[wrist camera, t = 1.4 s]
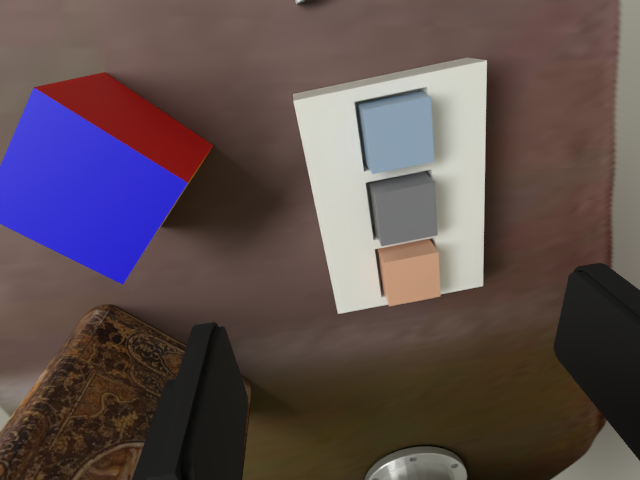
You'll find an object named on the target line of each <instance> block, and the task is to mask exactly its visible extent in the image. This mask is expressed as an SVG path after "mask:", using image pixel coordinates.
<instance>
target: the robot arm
mask: <svg viewBox="0 0 640 480" xmlns="http://www.w3.org/2000/svg"><path fill="white" fill-rule="evenodd" d="M554 351H555V355H556V357H557V358H558V360H559V361H560V362H561V364H562V365H563V366H564V367H565V369H566V370H567V371H568V372H569V374H570V375H571V376H572V377H573V379H574V380H575V381H576V382H577V384H578V385H579V386H580V387H581V388H582V390H583V391H584V392H585V393H586V395H587V396H588V397H589V398H590V400H591V401H592V402H593V403H594V405H595V406H596V407H597V408H598V410H599V411H600V412H601V413H602V415H603V416H604V417H605V418H606V419H607V421H608V422H609V423H610V424H611V426H612V427H613V428H614V429H615V431H616V432H617V433H618V434H619V436H620V437H621V438H622V439H623V440H624V442H625V443H626V444H627V445H628V447H629V448H630V449H631V450H632V452H633V453H634V454H635V455H636V457H637V458H638V459H639V460H640V290H639V289H637V288H636V287H635V286H633V285H632V284H631V283H629V282H628V281H627V280H625V279H624V278H623V277H621V276H620V275H619V274H617V273H616V272H615V271H613V270H612V269H611V268H609V267H608V266H607V265H605V264H602V263H597V264H591V265H584V266H579V267H577V268H576V269H575V270H574V273H571V274H570V275H569V278H568V283H567V287H566V292H565V297H564V301H563V306H562V311H561V315H560V320H559V324H558V329H557V334H556V338H555V343H554ZM247 412H248V396H247V392H246V389H245V386H244V383H243V380H242V377H241V374H240V371H239V368H238V365H237V362H236V359H235V356H234V353H233V350H232V347H231V344H230V341H229V338H228V335H227V332H226V330H225V328H224V327H218V325H217V323H215V322H213V323H206V324H200V325H194V326H193V328H192V330H191V333H190V337H189V340H188V343H187V346H186V349H185V352H184V356H183V359H182V362H181V365H180V368H179V371H178V374H177V378H176V379H173V380H168V381H167V382H166V384H165V386H164V388H163V390H162V393H161V396H160V399H159V402H158V405H157V408H156V411H155V414H154V417H153V419H152V422H151V425H150V428H149V431H148V434H147V437H146V440H145V443H144V446H143V449H142V451H141V454H140V457H139V460H138V463H137V466H136V469H135V472H134V475H133V478H132V480H240V479H241V469H242V460H243V450H244V441H245V431H246V422H247ZM365 480H467V472H466V469H465V467H464V464H463V462H462V460H461V459H460V458H459V457H458V456H457V455H455V454H454V453H453V452H450V451H448V450H446V449H442V448H438V447H430V446H421V447H412V448H407V449H403V450H399V451H396V452H394V453H392V454H389V455H387V456H386V457H384V458H382V459H381V460H379V461H378V462H377V463H375V464H374V465H373V467H372V468H371V469H370V470H369V471H368V473H367V475H366V477H365Z"/></svg>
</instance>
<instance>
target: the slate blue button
mask: <svg viewBox="0 0 640 480" xmlns="http://www.w3.org/2000/svg"><path fill="white" fill-rule="evenodd" d="M358 106H359V114H360V121H361V129H362V136H363V144H364V151H365V158H366V164H367V166H368V168H369V170H370V171H371V173H372V174H376V173H381V172H386V171H391V170H396V169H401V168H405V167H410V166H415V165H420V164H425V163H430V162H434V149H433V128H432V107H431V96H429V95H427V94H424V93H422V92H415V93H410V94H406V95H401V96H396V97H391V98H386V99H382V100H377V101H372V102H367V103H362V104H358Z"/></svg>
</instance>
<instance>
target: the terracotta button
mask: <svg viewBox="0 0 640 480" xmlns="http://www.w3.org/2000/svg"><path fill="white" fill-rule="evenodd" d="M378 255H379V263H380V270H381V278H382V285H383V291H384V294H385V296H386V299H387V302H388V305H389V306H393V305H399V304H404V303H409V302H414V301H420V300H425V299H430V298H435V297H440V296H441V295H440V274H439V253H438V251H437V249H436V248H435V246H434V245H433V243H432V242H431V241H430V239H425V240H420V241H415V242H410V243H405V244H400V245H395V246H389V247H384V248H379V249H378Z"/></svg>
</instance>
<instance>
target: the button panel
mask: <svg viewBox="0 0 640 480" xmlns="http://www.w3.org/2000/svg"><path fill="white" fill-rule="evenodd" d="M486 82H487V60H480V59H473V58H463V59H458V60H453V61H449V62H444V63H439V64H434V65H429V66H425V67H420V68H415V69H410V70H406V71H401V72H396V73H391V74H386V75H382V76H377V77H372V78H367V79H363V80H358V81H353V82H348V83H343V84H339V85H334V86H329V87H324V88H320V89H315V90H310V91H305V92H300V93H296V94H293V101H294V106H295V111H296V116H297V120H298V125H299V130H300V135H301V139H302V144H303V149H304V154H305V158H306V163H307V168H308V173H309V178H310V182H311V187H312V192H313V197H314V201H315V206H316V211H317V216H318V220H319V225H320V230H321V235H322V239H323V244H324V249H325V254H326V258H327V263H328V268H329V273H330V278H331V282H332V287H333V292H334V297H335V301H336V306H337V311H338V314H341V313H346V312H351V311H356V310H361V309H367V308H372V307H377V306H382V305H387V304H388V302H387V299H386V296H385V294H384V291H383V285H382V278H381V270H380V263H379V255H378V249H379V248H384V247H389V246H395V245H400V244H405V243H410V242H415V241H420V240H425V239H430V241H431V242H432V243H433V245H434V246H435V248H436V249H437V251H438V253H439V274H440V294H445V293H450V292H455V291H460V290H465V289H471V288H476V287H481V286H483V259H484V200H485V141H486ZM415 92H422V93H424V94H427V95H429V96H431V107H432V128H433V149H434V162H430V163H425V164H420V165H415V166H410V167H405V168H401V169H396V170H391V171H386V172H381V173H376V174H372V173H371V171H370V170H369V168H368V166H367V164H366V158H365V151H364V144H363V136H362V129H361V121H360V114H359V106H358V104H362V103H367V102H372V101H377V100H382V99H386V98H391V97H396V96H401V95H406V94H410V93H415ZM420 172H426V173H427V174H428V175H429V176H430V177H431V179H432V180H433V181H434V182H435V191H436V212H437V232H438V235H437V236H432V237H427V238H422V239H417V240H412V241H407V242H401V243H396V244H391V245H386V246H381V244H380V242H379V240H378V237H377V235H376V233H375V225H374V218H373V211H372V203H371V196H370V188H369V183H371V182H376V181H381V180H386V179H391V178H396V177H401V176H406V175H411V174H416V173H420Z"/></svg>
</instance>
